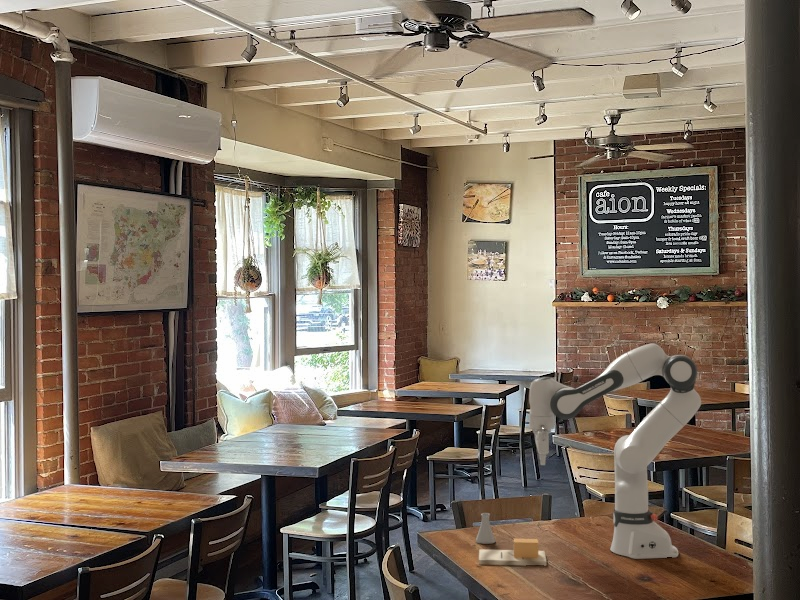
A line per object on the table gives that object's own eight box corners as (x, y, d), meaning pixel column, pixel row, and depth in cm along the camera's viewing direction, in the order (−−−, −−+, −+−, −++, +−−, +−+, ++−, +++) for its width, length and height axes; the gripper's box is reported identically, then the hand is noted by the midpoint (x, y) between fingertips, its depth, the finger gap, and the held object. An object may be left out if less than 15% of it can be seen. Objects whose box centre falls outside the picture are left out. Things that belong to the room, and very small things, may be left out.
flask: (494, 545, 329) (494, 516, 328) (474, 544, 330) (473, 516, 330) (496, 539, 336) (496, 512, 335) (476, 538, 337) (476, 511, 337)
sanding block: (537, 553, 313) (537, 539, 312) (538, 557, 308) (538, 542, 308) (513, 553, 313) (513, 538, 313) (513, 557, 309) (513, 542, 309)
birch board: (544, 555, 316) (544, 550, 316) (546, 565, 304) (546, 561, 304) (479, 553, 318) (479, 549, 318) (478, 564, 306) (478, 559, 306)
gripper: (552, 427, 317) (552, 468, 318) (549, 419, 338) (549, 457, 338) (534, 427, 318) (534, 468, 318) (531, 418, 338) (531, 456, 339)
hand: (542, 462), depth 328 cm, fingers open, 8 cm apart
